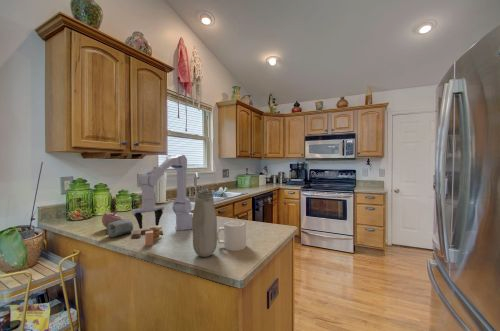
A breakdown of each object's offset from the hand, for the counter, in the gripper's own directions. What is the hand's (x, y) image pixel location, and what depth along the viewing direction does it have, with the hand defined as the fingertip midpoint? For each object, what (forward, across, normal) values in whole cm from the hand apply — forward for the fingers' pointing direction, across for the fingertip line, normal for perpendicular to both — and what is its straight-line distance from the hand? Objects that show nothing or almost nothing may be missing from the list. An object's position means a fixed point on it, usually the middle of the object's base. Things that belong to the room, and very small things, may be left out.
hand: (149, 226), depth 115 cm
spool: (+9, +6, -27) cm, 29 cm away
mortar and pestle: (+9, +6, -42) cm, 44 cm away
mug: (+9, -27, +31) cm, 42 cm away
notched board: (+8, -5, -16) cm, 19 cm away
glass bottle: (+9, -12, +31) cm, 34 cm away
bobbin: (+8, -6, -7) cm, 12 cm away
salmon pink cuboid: (+8, 0, 0) cm, 9 cm away
